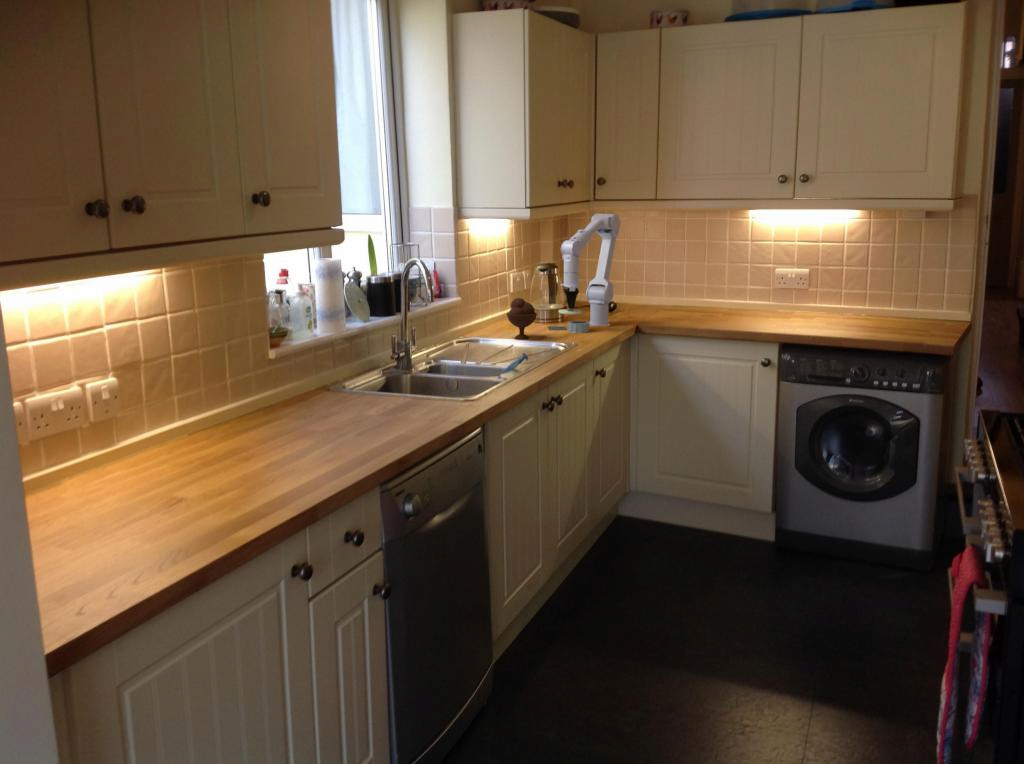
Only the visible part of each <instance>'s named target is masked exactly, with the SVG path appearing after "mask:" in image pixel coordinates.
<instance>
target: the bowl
mask: <svg viewBox="0 0 1024 764" xmlns="http://www.w3.org/2000/svg"><path fill="white" fill-rule="evenodd" d="M589 322H590V321H585V320H569V321H567V332H568V333H572V334H582V333H583V334H584V333H585V334H586V333H589V332H590V324H589Z"/></svg>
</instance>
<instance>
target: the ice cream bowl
mask: <svg viewBox="0 0 1024 764" xmlns="http://www.w3.org/2000/svg"><path fill="white" fill-rule="evenodd" d="M537 314H538V313H537V312H536V311H535V307H534V305H533V304H532V303H530V302H528V301H525V299H524V298H522V297H516V298H514V299H512V301H511V302H510V310H509V312H507V313H506V316H507V320H508V321H509V322H510V323H511V324H512V325H513V326H515V327H516V328H518V329H519V333H518V335H516V336H514V340H518V341H523V340H524V341H525V340H529V339H530V336H528V335H526V333H525V328H527V327H529V326H531V325H532V324H533V323H534V322H535V321H536V318H537V316H538V315H537Z"/></svg>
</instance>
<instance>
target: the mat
mask: <svg viewBox="0 0 1024 764" xmlns="http://www.w3.org/2000/svg"><path fill="white" fill-rule="evenodd" d="M547 329H548V331H568V328H567V327H566V325H563V326H561V325H560V326H559V325H558V326H550V325H549V326H547Z"/></svg>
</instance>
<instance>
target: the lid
mask: <svg viewBox="0 0 1024 764" xmlns="http://www.w3.org/2000/svg"><path fill="white" fill-rule="evenodd" d="M566 305H567V308H566V309H563V308H562V309H558V314H560V315H566V316H567V315H569V316H570V315H571V316H572V315H574V316H575V315H576V316H577V315H582V314H583V311H582V310H579V309H575V308H574V309H569V308H568V303H567V302H566Z"/></svg>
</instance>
